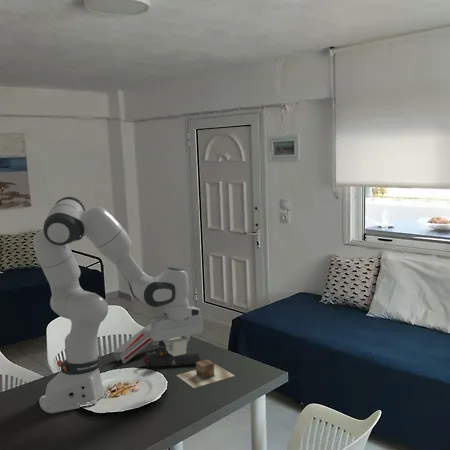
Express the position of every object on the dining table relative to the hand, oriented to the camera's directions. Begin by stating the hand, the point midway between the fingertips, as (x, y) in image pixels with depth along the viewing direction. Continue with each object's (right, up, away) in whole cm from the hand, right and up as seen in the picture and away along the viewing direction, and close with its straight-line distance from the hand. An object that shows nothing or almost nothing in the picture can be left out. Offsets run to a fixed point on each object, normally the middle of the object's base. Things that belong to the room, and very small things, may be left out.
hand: (176, 348), depth 188 cm
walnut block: (+10, -13, +10) cm, 19 cm away
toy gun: (-16, -11, +37) cm, 42 cm away
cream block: (0, -2, 0) cm, 2 cm away
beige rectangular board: (+10, -14, +10) cm, 20 cm away
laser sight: (-4, -13, +23) cm, 26 cm away
